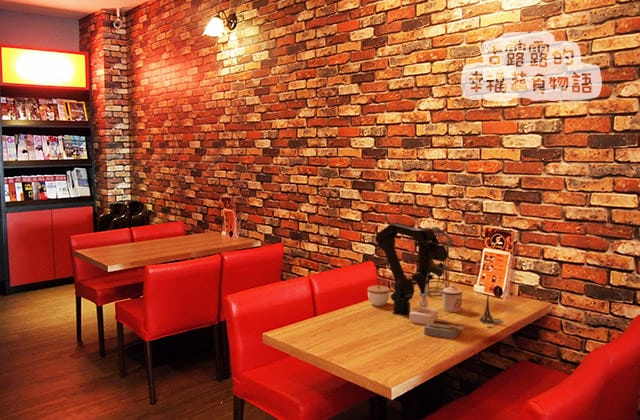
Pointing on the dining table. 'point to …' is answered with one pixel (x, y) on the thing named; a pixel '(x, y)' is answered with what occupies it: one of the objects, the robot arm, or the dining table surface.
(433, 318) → the brass guide bars
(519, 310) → the dining table surface
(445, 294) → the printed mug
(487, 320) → the eiffel tower figurine
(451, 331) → the socket block
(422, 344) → the dining table surface
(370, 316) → the dining table surface
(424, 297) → the steel pin
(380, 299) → the lidded jar
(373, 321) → the dining table surface
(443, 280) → the geometric lantern
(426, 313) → the square hole block
